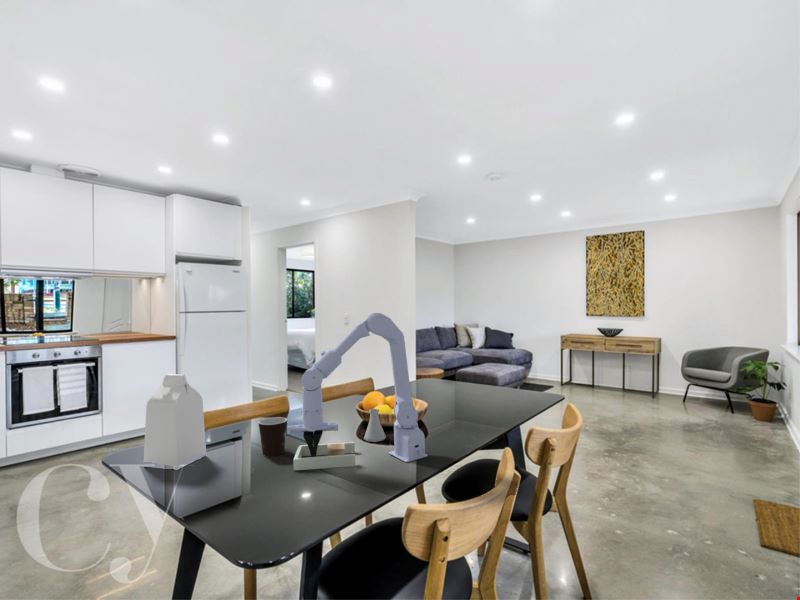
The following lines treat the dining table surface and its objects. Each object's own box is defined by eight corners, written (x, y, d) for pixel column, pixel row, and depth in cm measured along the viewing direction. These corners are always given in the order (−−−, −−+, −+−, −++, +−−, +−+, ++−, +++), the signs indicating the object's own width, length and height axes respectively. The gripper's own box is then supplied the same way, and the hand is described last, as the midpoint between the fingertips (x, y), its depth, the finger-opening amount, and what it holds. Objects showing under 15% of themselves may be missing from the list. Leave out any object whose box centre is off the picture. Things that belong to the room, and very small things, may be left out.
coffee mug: (279, 458, 122) (278, 425, 122) (253, 457, 123) (252, 424, 124) (296, 445, 133) (296, 415, 133) (272, 444, 135) (272, 414, 135)
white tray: (354, 451, 126) (354, 441, 126) (355, 466, 114) (354, 455, 114) (298, 455, 124) (298, 445, 124) (293, 470, 112) (293, 459, 112)
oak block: (344, 456, 122) (344, 443, 123) (344, 462, 118) (344, 448, 118) (327, 458, 122) (327, 444, 122) (327, 464, 117) (327, 450, 117)
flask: (375, 444, 133) (375, 413, 133) (359, 440, 137) (359, 410, 138) (389, 438, 139) (389, 408, 139) (373, 434, 143) (373, 406, 143)
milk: (206, 456, 126) (205, 372, 126) (176, 470, 114) (175, 378, 115) (175, 453, 129) (174, 371, 129) (143, 467, 118) (142, 377, 118)
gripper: (285, 414, 114) (286, 463, 114) (337, 411, 116) (338, 459, 116) (289, 408, 121) (289, 454, 121) (337, 406, 123) (338, 451, 123)
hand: (313, 456), depth 119 cm, fingers closed
